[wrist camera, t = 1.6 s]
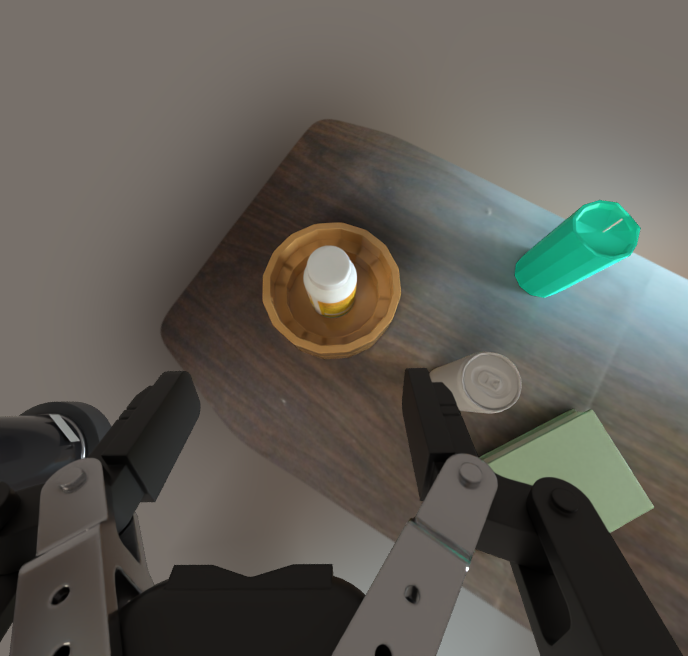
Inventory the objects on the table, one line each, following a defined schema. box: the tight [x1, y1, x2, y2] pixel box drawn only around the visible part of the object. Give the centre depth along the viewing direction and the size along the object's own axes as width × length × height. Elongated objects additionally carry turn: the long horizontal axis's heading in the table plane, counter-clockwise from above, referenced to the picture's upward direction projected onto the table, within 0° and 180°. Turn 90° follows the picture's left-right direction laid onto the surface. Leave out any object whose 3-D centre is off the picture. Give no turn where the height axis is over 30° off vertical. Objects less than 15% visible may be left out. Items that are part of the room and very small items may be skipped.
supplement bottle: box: [303, 246, 357, 318], centre depth 33 cm, size 5×5×10 cm
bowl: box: [263, 222, 401, 359], centre depth 36 cm, size 15×15×5 cm
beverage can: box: [429, 352, 521, 414], centre depth 30 cm, size 5×5×12 cm
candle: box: [515, 200, 641, 298], centre depth 33 cm, size 6×6×12 cm
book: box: [479, 409, 654, 533], centre depth 32 cm, size 13×10×3 cm
